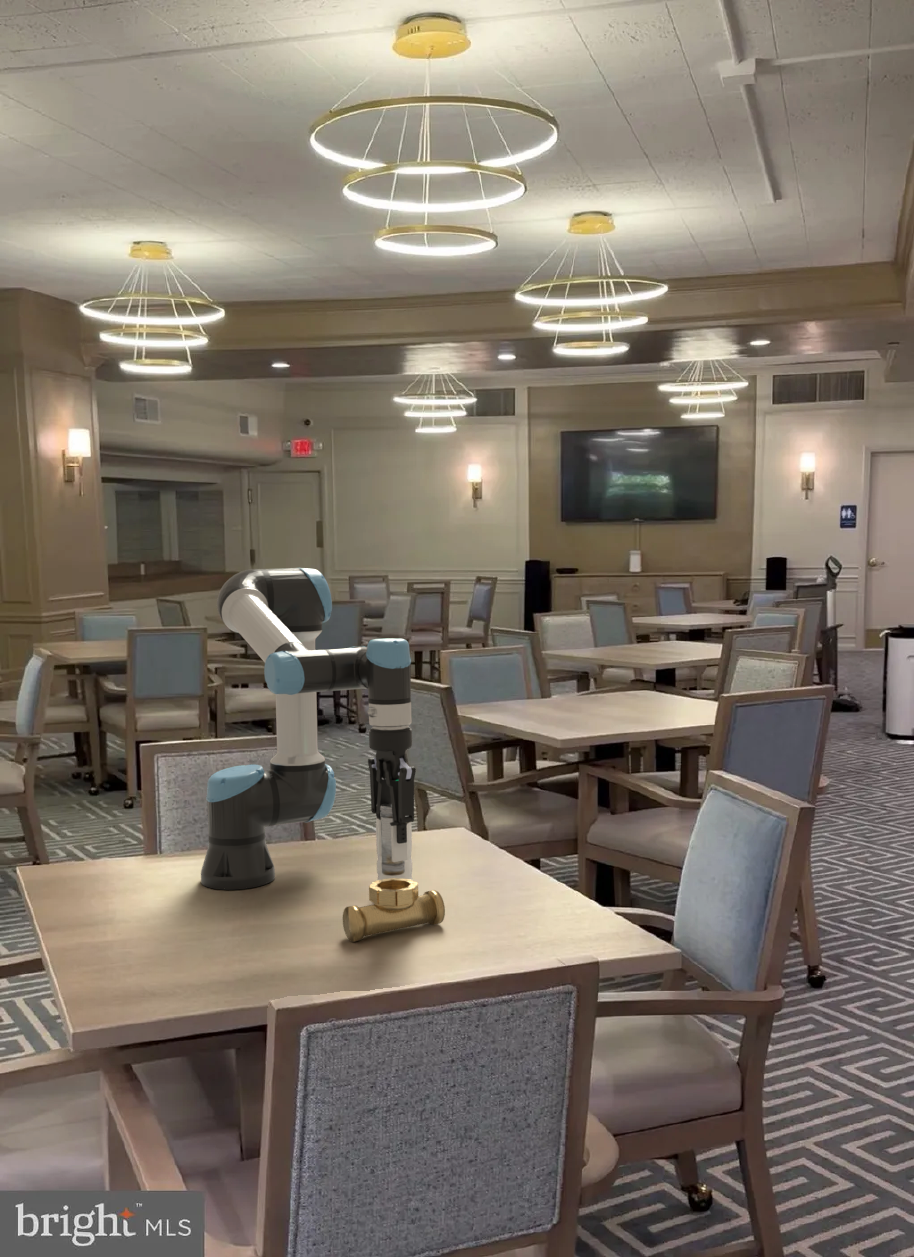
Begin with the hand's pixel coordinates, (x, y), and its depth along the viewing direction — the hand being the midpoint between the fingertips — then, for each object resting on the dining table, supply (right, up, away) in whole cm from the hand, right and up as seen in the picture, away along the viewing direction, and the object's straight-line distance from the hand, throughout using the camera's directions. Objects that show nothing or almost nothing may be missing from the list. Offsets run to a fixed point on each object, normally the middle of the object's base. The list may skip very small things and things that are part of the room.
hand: (393, 857), depth 201 cm
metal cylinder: (0, -3, 0) cm, 3 cm away
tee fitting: (0, -13, +1) cm, 13 cm away
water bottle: (-1, -12, +24) cm, 27 cm away
